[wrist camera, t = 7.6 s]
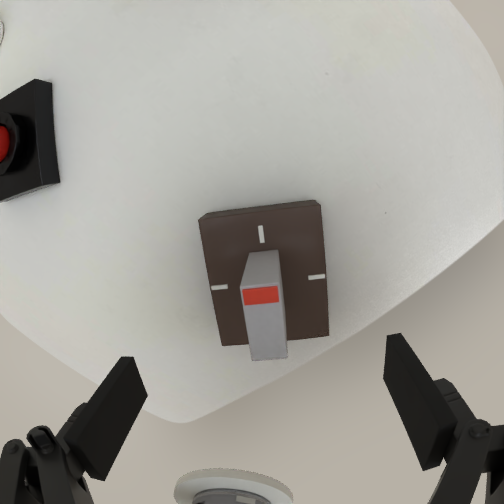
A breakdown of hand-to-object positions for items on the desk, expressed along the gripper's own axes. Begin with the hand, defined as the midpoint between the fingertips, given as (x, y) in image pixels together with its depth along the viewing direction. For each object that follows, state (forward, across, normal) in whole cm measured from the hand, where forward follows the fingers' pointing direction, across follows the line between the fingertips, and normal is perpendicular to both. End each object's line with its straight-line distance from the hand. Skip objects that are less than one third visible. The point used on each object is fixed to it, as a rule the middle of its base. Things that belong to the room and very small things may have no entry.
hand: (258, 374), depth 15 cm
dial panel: (+16, 0, 0) cm, 16 cm away
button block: (+16, -26, +18) cm, 35 cm away
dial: (+12, 0, 0) cm, 12 cm away
